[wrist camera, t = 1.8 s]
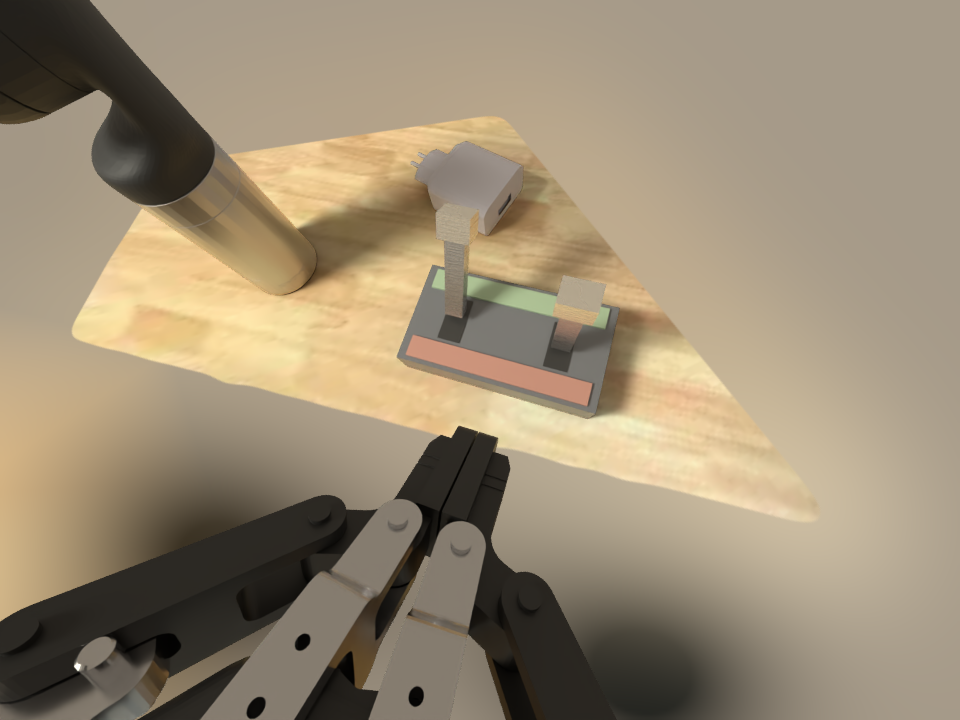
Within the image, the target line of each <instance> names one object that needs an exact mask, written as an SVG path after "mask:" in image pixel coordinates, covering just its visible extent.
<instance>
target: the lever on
mask: <svg viewBox="0 0 960 720" xmlns="http://www.w3.org/2000/svg"><path fill="white" fill-rule="evenodd" d="M478 219H479V209H475V208H469V207H464V206H459V205H454V204H449V203H445V204H444V205H443V206H442V207H441V208H440V209H439V210H438V211H437V212H436V239H440V240H444V248H445V314H447V315H451V316H455V317H459V318H463V316H464V314H465V313H466V308H467V287H468V265H469V245H470V244H471V243H472V242H473V240H474V239H475V238H476V236H477V235H478Z"/></svg>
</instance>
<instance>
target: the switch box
mask: <svg viewBox="0 0 960 720" xmlns="http://www.w3.org/2000/svg"><path fill="white" fill-rule="evenodd" d="M557 295H558V294H557V293H552V292H548V291H544V290H539V289H535V288H531V287H527V286H522V285H518V284H514V283H509V282H505V281H501V280H496V279H492V278H488V277H483V276H479V275H475V274H470V273H468V287H467V308H466V313H465V314H464V316H463V318H459V317H455V316H451V315H447V314H445V268H444V267H440V266H436V265H432V267H431V270H430V272H429V275H428V277H427V280H426V283H425V285H424V288H423V290H422V293H421V295H420V298H419V301H418V303H417V306H416V308H415V311H414V313H413V316H412V319H411V321H410V324H409V326H408V329H407V331H406V334H405V337H404V339H403V342H402V344H401V347H400V349H399V352H398V355H397V358H398V359H399V360H401V361H402V362H403V363H404V364H405V365H406V366H407V367H411V368H414V369H418V370H421V371H424V372H428V373H431V374H435V375H438V376H442V377H445V378H448V379H452V380H455V381H459V382H462V383H466V384H469V385H473V386H476V387H479V388H483V389H486V390H490V391H493V392H497V393H500V394H504V395H507V396H510V397H514V398H517V399H521V400H524V401H528V402H531V403H534V404H538V405H541V406H545V407H548V408H552V409H555V410H559V411H562V412H565V413H569V414H572V415H576V416H579V417H583V418H586V419H588V418H590V417H592V416H593V415H595V414H596V409H597V405H598V401H599V396H600V392H601V388H602V383H603V379H604V374H605V370H606V366H607V361H608V357H609V352H610V348H611V344H612V339H613V335H614V331H615V326H616V322H617V317H618V313H619V309H620V308H617V307H613V306H609V305H604V304H601V308H600V312H599V315H598V316H597V318H596V320H595V322H594V324H593V325H592V326H590V325H586V324H583V326H582V328H581V330H580V332H579V334H578V336H577V338H576V340H575V342H574V345H573V347H572V349H571V351H570V352H567V351H563V350H559V349H555V348H551V345H552V341H553V337H554V334H555V330H556V327H557V324H558V320H559V318H557V317H553V316H552V315H553V311H554V306H555V302H556V299H557Z"/></svg>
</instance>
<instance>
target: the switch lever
mask: <svg viewBox="0 0 960 720" xmlns="http://www.w3.org/2000/svg"><path fill="white" fill-rule="evenodd" d="M605 287H606V284H602V283H597V282H593V281H588V280H584V279H579V278H575V277H570V276H566V275H563V277H562V281H561V285H560V288H559V292H558V295H557V299H556V302H555V306H554V311H553V315H552V316H553V317H557V318H559V320H558V324H557V327H556V330H555V334H554V337H553V341H552V345H551V348H555V349H559V350H563V351H567V352H570V351H571V349H572V347H573V345H574V342H575V340H576V338H577V336H578V334H579V332H580V330H581V328H582V326H583V324H586V325H590V326H592V325H593V324H594V322H595V320H596V318H597V316H598V315H599V312H600V308H601V304H602V300H603V295H604V291H605Z"/></svg>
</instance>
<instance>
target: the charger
mask: <svg viewBox="0 0 960 720" xmlns="http://www.w3.org/2000/svg"><path fill="white" fill-rule="evenodd" d="M418 156H419V157H422V158H424V160H423V161H422V162H421V163H420V164H418V163H416V162H413V161H411V165H413V166H415V167H417V168H418V170H417V172H416V175H415V179H416V180H418V181H420V182H422V183H424V184H426V185H427V187H428V193H429V196H430V199H431V202H432V205H433V208H434V209H435V210H437V211H438V210H439V209H440V208H441V207H442V206H443V205H444V204H445V203H449V204H454V205H459V206H464V207H469V208H475V209H479V219H478V232H480V233H482V234H483V235H485V236H488V235H489V234H490V232H491V231H492V230H493V228H494V227H495V226H496V224H497V223H498V221H499V220H500V219H501V217H502V216H503V215H504V213H505V212H506V211H507V209H508V208H509V207H510V205H511V204H512V203H513V201H514V200H515V198H516V197H517V196H518V194H519V193H520V191H521V189H522V187H523V166H522V165H520V164H517V163H515V162H513V161H511V160H508V159H506V158H504V157H502V156H499V155H497V154H495V153H493V152H490V151H488V150H486V149H484V148H481V147H479V146H477V145H475V144H472V143H470V142H468V141H465V142H462V143H460V144H457V145H456V146H455V147H454V148H453V149H452V151H451V152H450V153H449V154H446V153H444V152H442V151H440V150H437V149H436V150H433V151H431V152H429V154H428V155H427V156H426V155H424V154H422V153H420V152H419V153H418ZM510 198H511V201H510V202H509V203H508V205H507V206H506V207H505V209H504V210H503V211H502V209H503V208H504V206H505V205H506V204H507V202H508V201H509V200H510ZM501 211H502V213H501V214H500V215H499V213H500V212H501Z"/></svg>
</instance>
